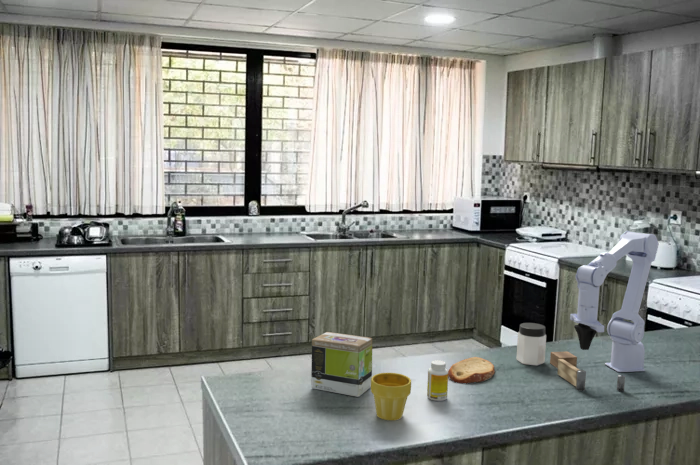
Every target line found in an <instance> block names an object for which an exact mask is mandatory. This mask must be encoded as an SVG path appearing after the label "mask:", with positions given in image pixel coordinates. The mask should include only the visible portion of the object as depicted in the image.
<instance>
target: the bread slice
mask: <svg viewBox="0 0 700 465" xmlns="http://www.w3.org/2000/svg"><path fill="white" fill-rule="evenodd" d="M495 370H496V369H495V366H494V364H493V363H492V362H490V361H489V360H487V359H484V358H482V357H478V356H472V357H468V358H464V359H462V360H460V361H457V362H455V363H454V364H452V365H451V366H450V367H449V369H448V379H450V380H451V381H452V382H453V381H454V382H453V383H456V382H457V383H458V384H463V383H466V384H465V385H467V383H468V384H472V383H473V384H474V382H476V383H482V382H485V381H488V380H489V378H490V379H492V377H493V375H495V372H496V371H495ZM457 383H456V384H457Z"/></svg>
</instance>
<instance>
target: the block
mask: <svg viewBox="0 0 700 465" xmlns="http://www.w3.org/2000/svg"><path fill="white" fill-rule="evenodd" d="M549 358H550V359H549V360H550V361H549V364H551V366H554V367H555V368H556V369H558V359H564V360H565V361H567V362H568V363H570V364H571V365H573V366H575V367H576V368H577V364H578V363H577V362H578V357H577V356H576V355H574V354H573V353H571V352H570V351H551V352H550V357H549Z"/></svg>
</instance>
